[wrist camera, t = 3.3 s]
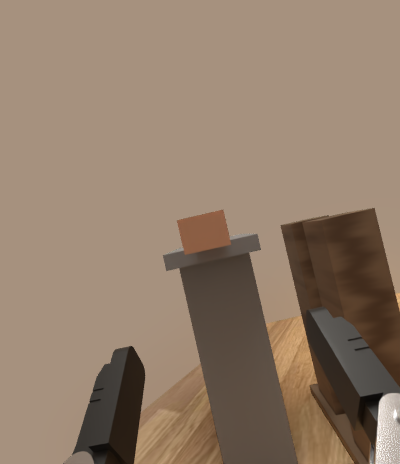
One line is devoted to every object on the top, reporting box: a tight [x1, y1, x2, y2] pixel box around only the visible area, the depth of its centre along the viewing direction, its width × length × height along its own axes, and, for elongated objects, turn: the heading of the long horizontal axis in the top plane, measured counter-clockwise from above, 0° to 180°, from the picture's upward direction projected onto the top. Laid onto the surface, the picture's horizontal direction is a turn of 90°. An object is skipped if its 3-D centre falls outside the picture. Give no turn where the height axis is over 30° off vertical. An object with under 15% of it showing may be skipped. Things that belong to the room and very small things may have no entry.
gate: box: [281, 208, 400, 464], centre depth 36 cm, size 8×21×32 cm, turn 178°
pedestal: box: [163, 234, 298, 464], centre depth 38 cm, size 12×16×32 cm
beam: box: [177, 210, 231, 255], centre depth 34 cm, size 26×4×3 cm, turn 178°
